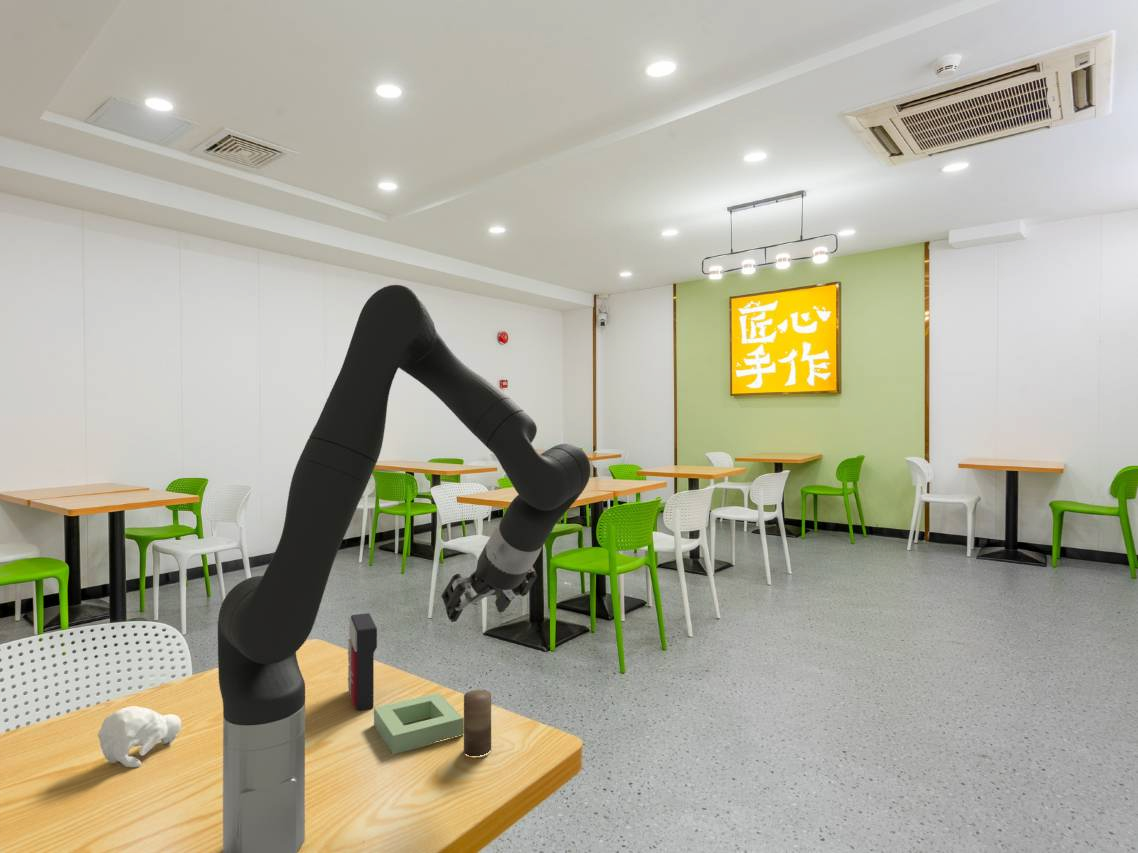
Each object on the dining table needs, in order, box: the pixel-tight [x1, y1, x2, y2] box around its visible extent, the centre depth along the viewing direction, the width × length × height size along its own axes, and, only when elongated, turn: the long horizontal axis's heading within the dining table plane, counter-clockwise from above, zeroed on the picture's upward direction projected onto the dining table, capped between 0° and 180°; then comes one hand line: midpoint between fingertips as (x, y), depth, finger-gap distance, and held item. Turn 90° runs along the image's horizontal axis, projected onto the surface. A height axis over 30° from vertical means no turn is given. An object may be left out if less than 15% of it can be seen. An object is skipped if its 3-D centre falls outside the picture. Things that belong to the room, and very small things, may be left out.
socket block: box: [373, 692, 464, 755], centre depth 109 cm, size 12×12×3 cm
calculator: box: [347, 612, 378, 711], centre depth 122 cm, size 11×4×15 cm, turn 25°
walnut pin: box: [463, 689, 492, 756], centre depth 102 cm, size 4×4×9 cm
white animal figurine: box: [97, 705, 182, 768], centre depth 101 cm, size 6×8×12 cm
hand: (475, 612), depth 101 cm, fingers open, 8 cm apart
